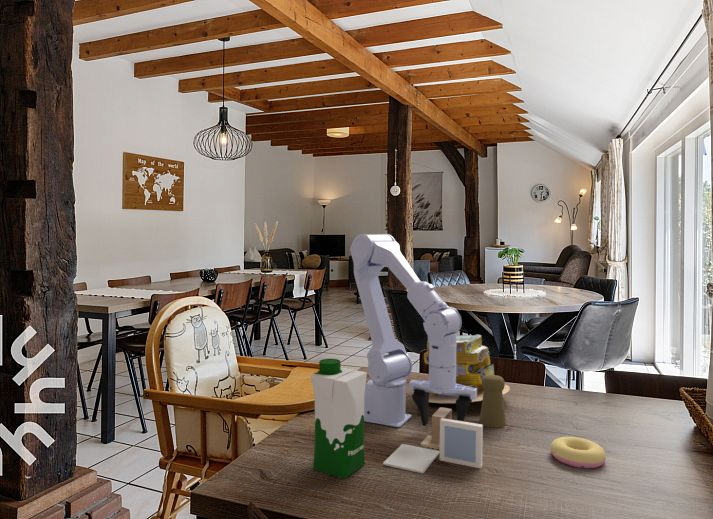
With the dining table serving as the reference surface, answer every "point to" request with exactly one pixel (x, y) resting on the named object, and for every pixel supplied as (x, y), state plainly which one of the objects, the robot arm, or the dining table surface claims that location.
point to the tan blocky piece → (436, 428)
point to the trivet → (411, 458)
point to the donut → (578, 452)
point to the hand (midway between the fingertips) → (442, 427)
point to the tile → (461, 442)
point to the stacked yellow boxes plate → (468, 367)
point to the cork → (492, 402)
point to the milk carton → (338, 418)
